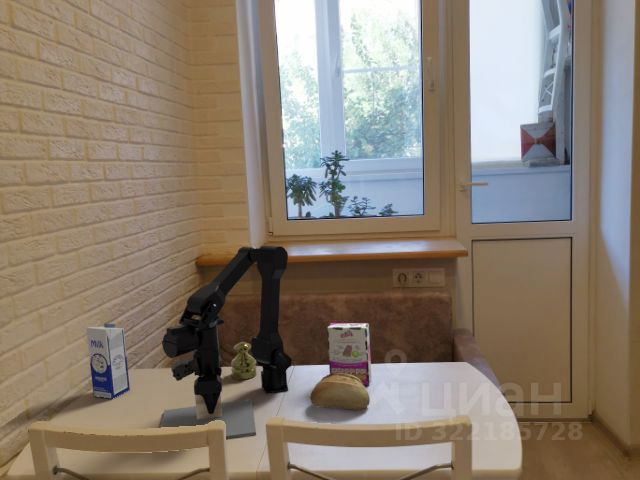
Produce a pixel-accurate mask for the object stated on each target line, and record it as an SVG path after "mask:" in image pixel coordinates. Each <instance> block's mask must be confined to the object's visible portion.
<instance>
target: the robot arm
mask: <svg viewBox="0 0 640 480" xmlns="http://www.w3.org/2000/svg"><path fill="white" fill-rule="evenodd" d="M288 259H289V253H288V251H287V250H286V249H285V247H284V246H281V245H266V244H265V245H260V247H259V248H257V247H254V246H241V247H240V248H239V249H238V250H237V253H236V254H235V255H234V256H233V257H232V259H230V261H229V262H228V263H227V264H226V265H225V266H224V267H223V269H222V270H221V271H220V272H219V273H218V274H217V275H216V276H215V278H213V280H212V281H211V282H209V284H206V285H204V286H202V287H200V288H199V289H197V290H195V292H193V293H192V294H191V295H189V297H188V299H186V300H187V301H186V306H185V308H184V310H183V312H182V315H181V317H180V319H179V320H178V324H179V325H176V326H170V327H167V328H166V333H165V334H164V335H163V337H162V341H161V343H162V344H161V345H162V346H161V347H162V349H163V351H164V354H165V356H167V357H168V358H170V359H175V358H177V357H179V356H183V355H185V354H189V353H191V352H193V354H191V355H188V356H186V357H184V358H181V359H180V360H176V362H174V363H172V364H171V369H170V370H171V372H172V377H173V378H175V381H177V382H178V381H181V380H183V379H184V378H186V377H188V376H190V375H192V374H193V375H194V377H195V376H198V377H197V378H196V379H195V380H194V382H193V393H194V396H195V395H201V396H202V397H203V399H204V402H205V404H206V407H207V410H208V413H209V414H213V413H214V410H215V408H216V405H217V402H218V399H219V396H220V393H222V392H223V382H222V381H223V380H222V377H221V376H222V371H223V369H222V367H223V363H222V361H223V360H222V357H221V356H220V344H219V334H218V332H219V331H218V326H219V325H223V324H225V320H224V319H222V318H221V317H220V316H219V315H220V312H221V310H223V308H224V306H225V303H226V297H227V296H228V294H229V293H230V291H232V289H233V288H234V287H235V286H236V285H237V283H239V281H240V280H241V279H242V278H243V277H244V275H245V274H247V272H248V271H249V269H251V267H252V266H253V265H254V264H255V263H256V268H257V270H258V271H257V272H258V273H259V275H260V277H261V289H260V290H261V291H260V293H261V294H260V295H261V296H260V317H259V331H258V332H257V334H256V336H255V337H253V336H252V337H251V340H250V341H251V342H250V343H251V348H250V353H251V354H252V355H251V357H253V358H254V359H255V360H256V364H257V366H259V367H262V370H261V371H260V379H261V382H260V384H261V388H262V389H263V391H264V393H265V394H268V393H269V394H270V393H277V392H278V393H279V392H285V391H288V390H289V386H288V377H287V370H288V369H289V368H291V367H292V361H293V358H291V357H290V356H289V355H288V354H287V353H286V352H285V351H284V348H285V347H284V342H283V339H282V336H281V335H280V332H279V320H280V319H279V317H280V315H279V314H280V292H281V279H282V277H283V275H284V274H285V271H286V270H287V265H288V261H289V260H288ZM193 317H194V318H193Z"/></svg>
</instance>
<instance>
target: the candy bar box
mask: <svg viewBox="0 0 640 480" xmlns="http://www.w3.org/2000/svg"><path fill="white" fill-rule="evenodd" d="M369 324H370V323H368V322H366V323H365V322H357V323H356V322H346V323H345V322H343V323H342V322H341V323H340V322H330V323H329V325H328V326H327V328H326V330H327V331H326V333H327V346H328V348H327V349H328V364H329V374H333V373H346V374H351V375H354V376H356V377H357V378H359V379H360V380H361V382H362V383H363V384H364V386H370V383H371V382H372V381H371V380H372V363H371V345H370V344H371V343H370V325H369Z"/></svg>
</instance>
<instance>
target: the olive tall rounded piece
mask: <svg viewBox="0 0 640 480" xmlns="http://www.w3.org/2000/svg"><path fill="white" fill-rule="evenodd" d="M251 347H252V344H250V343H248V342H245V341H240V342H239V343H237V344H235V345H234V346H233V350H235V351H236V352H237V353H238V354H237V355H236V356H235V357H234V358H233V359H232V360H231V362H230V366H231V377H232V378H233V379H235V380H240V379H243V380H248V378H249V379H252V378H254V377H256V375H257V371H258V370H257V366H256V364H257V362H256V360H255V359H254V358H253V356H252V355H250V353H248V352H249V350H251ZM251 377H252V378H251Z"/></svg>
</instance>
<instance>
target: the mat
mask: <svg viewBox="0 0 640 480" xmlns="http://www.w3.org/2000/svg"><path fill="white" fill-rule="evenodd" d="M221 406H222V416H221V417H213V418H206V419H198V420H197V413H196V405H195V406H186V407H179V408H172V409H171V408H170V409H165V410H164V411H163V416H162V418H161V419H162V420H161V423H160V427H179V426H196V425H205V424H208V423H209V422H211V421H215V420H222V421H224V422H225V424H226V439H227V440H228V439H234V438H241V437H247V436H255V435H257V431H256V429H257V428H256V423H255V416H254V415H255V414H254V408H253V402H252V399H245V400H244V399H243V400H236V401H234V400H233V401H226V402H221ZM226 439H225V440H226Z"/></svg>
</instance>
